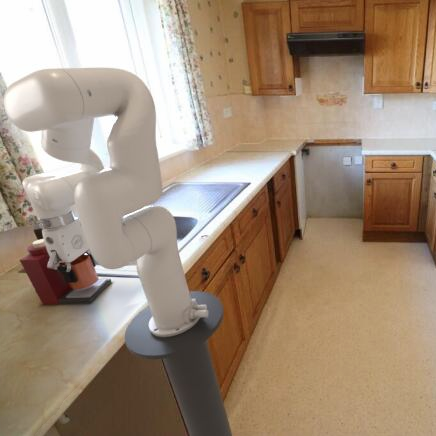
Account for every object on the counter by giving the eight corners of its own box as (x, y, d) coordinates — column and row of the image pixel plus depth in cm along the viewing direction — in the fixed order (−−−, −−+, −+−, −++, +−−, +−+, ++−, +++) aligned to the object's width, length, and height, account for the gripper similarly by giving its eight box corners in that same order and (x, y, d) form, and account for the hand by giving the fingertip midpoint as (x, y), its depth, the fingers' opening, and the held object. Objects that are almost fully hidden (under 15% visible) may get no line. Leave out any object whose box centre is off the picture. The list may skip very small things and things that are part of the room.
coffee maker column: (85, 283, 102) (64, 236, 95) (61, 304, 93) (36, 253, 86) (66, 283, 102) (45, 236, 95) (41, 304, 93) (14, 254, 86)
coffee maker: (112, 282, 102) (95, 241, 96) (90, 303, 93) (71, 259, 86) (83, 283, 102) (65, 242, 96) (59, 304, 93) (37, 260, 87)
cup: (103, 275, 99) (94, 253, 95) (88, 289, 93) (78, 266, 89) (81, 276, 99) (72, 254, 96) (65, 290, 93) (54, 266, 89)
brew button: (50, 243, 92) (48, 238, 91) (42, 248, 89) (39, 243, 89) (40, 243, 92) (38, 238, 91) (31, 249, 89) (29, 244, 89)
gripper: (45, 234, 79) (72, 292, 87) (93, 206, 95) (112, 258, 102) (15, 234, 79) (45, 293, 87) (68, 207, 95) (89, 258, 103)
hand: (81, 273), depth 95 cm, fingers closed on cup, 6 cm apart
